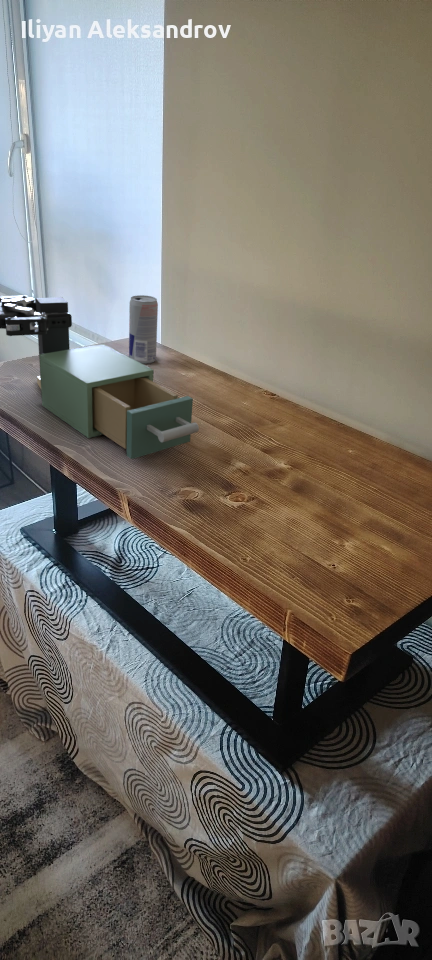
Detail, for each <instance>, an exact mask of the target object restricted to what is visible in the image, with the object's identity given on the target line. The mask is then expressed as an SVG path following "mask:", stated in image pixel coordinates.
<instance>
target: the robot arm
mask: <svg viewBox="0 0 432 960" xmlns="http://www.w3.org/2000/svg"><path fill="white" fill-rule="evenodd" d="M72 318H73V317H72V314H71V313H70V312H68V313H47V314H45V313H38V312H36V299H35V298H33V297H29V295H27V294H22V295H4V296H3V295H1V296H0V329H1V330H5V335H6V336H8V337H17V336H38V335H44V334H47V330H48V328H49V329H52V328H69V329H70V328H71V327H72V326H73V319H72ZM37 322H38V325H37Z"/></svg>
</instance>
